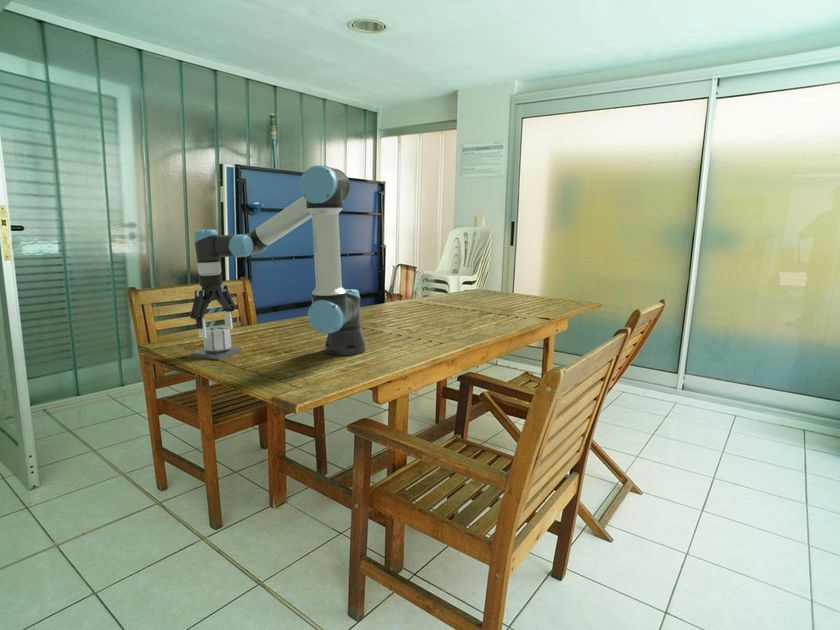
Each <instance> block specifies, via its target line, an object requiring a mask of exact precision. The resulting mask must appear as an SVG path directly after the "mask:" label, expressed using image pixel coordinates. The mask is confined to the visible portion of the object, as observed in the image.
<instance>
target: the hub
mask: <svg viewBox="0 0 840 630" xmlns="http://www.w3.org/2000/svg"><path fill="white" fill-rule="evenodd" d="M206 335H207V338H203V345H204V346H203V347H204V348H205V350H208V351H214V350H215V351H219V350H224V349H228V348H231V347H232V345H233V344H232V332H231V329H230V327H228V326H225V325H221V326H220V325H214V326H208V327H206ZM204 348H203V349H204Z"/></svg>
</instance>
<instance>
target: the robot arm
mask: <svg viewBox="0 0 840 630" xmlns="http://www.w3.org/2000/svg"><path fill="white" fill-rule="evenodd" d="M299 190H300V193H301V195H302V196H301V197H300V198H299V199H297V200H296V201H294V202H293V203H291V204H290V205H288V206H287V207H285V208H284V209H282V210H281V211H279V212H278V213H276V214H275V215H274V216H271V218H269V219H268V220H266V221H265V222H263V223H262V224H260V225H259V226H257V227H256V228H255V229H253V230H251V231H250V232H248V233H241V234H239V233H238V234H226V235H225V234H221V235H220V234H218V230H217V229H197V230H195V231H194V232H193V235H194V236H193V237H194V248H195V253H196V254H195V256H196V263H197V264H196V265H197V273H198V274H199V275H198V283H199V286H200V287H201V290H200V289H199V290H197V289H196V290H194V300H193V304H192V308H191V313H190V316H189V317H190V319H192V320H195V324H196V329H197V332H198V338H200V339H202V338H203V339H204V338H207V335H206V328H207V327H206V326H207V325H206V319H205V318H204V316H205V313H206V312H207V309H208V307H209V304H210V303H212V302H213V301H217V302H218V303H219V305H221V307H222V309H223V310H224V311H223V316H224V317H223V318H224V326H228V327H230V330H234V329H233V327H234V326H233V312H235V309H236V305H235V302H234V300H233V297H232V296H231V294H230V291H229V288H228V285H227V284H225V285H223V275H222V274H221V273H222V264H221V258H236V257H237V258H244V257H246V258H247V257H249V256H251V255H258V254H261V253H263V252H265V251H266V250H267V248H268V246H270V245H271V244H273V243H275V242H276V241H278V240H280V239H281V238H283V237H284V236H285V235H287V234H288V233H290V232H292V231H293V230H295V229H297V227H299V226H301V225H303V224H304V223H305V222H307V221H309V220H310V219H311V222H312V224H311V225H312V226H311V227H312V241H313V243H312V244H313V259H314V261H313V262H314V273H315V276H314V277H315V288H314V289H313V291H312V292H311V303H312V304H310V306H309V308H308V311H307V319H308V321H309V322H308V323H309V325H311V327H312V328H314V330H316V331H317V332H319V333H322V334H327V336H326V340H325V343H324V352H325V354H328V355H332V356H353V355H357V354H361V353H364V352H366V350H367V345H366V344H367V343H366V341H365V338H364V335H363V332H362V330H361V329H362V328H361V327H362V326H361V295H360V292H359V290H358V289H355V288H353V289H351V288H348V289H347V288H344V287H343V284H342V283H343V282H342V261H341V260H342V259H341V239H340V221H339V220H340V219H339V214H340V213H341V211H343V210H344V208H343V206H344V205H343V202H344V201H345V200H346V199H348V197H349V195H350V192H351V183H350V180H349V178H348V175H346V173H345V172H343V171H342V170H340V169H337V168H334V167H331V166H327V165H322V164H321V165H320V164H319V165H318V164H317V165H313V166H310V167H308V168H307V169H306V170H305V171H304V172H303V173H302V175H301V177H300V181H299Z"/></svg>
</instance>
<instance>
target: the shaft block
mask: <svg viewBox="0 0 840 630" xmlns="http://www.w3.org/2000/svg"><path fill="white" fill-rule="evenodd" d="M241 352H243V350H242V346H234V345H233V346H232V347H231V348H228V349H224V350H219V351H215V350H214V351H208V350H205V348H202V349H200V350H197V351H193V352H191V353H190V354H191V355H190V356H191V358H193V359H194V358H196V359H206V360H213V361H214V360H215V361H221V360H223V359H226V358H228V357H230V356H233V355H236V354H238V353H241Z"/></svg>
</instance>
